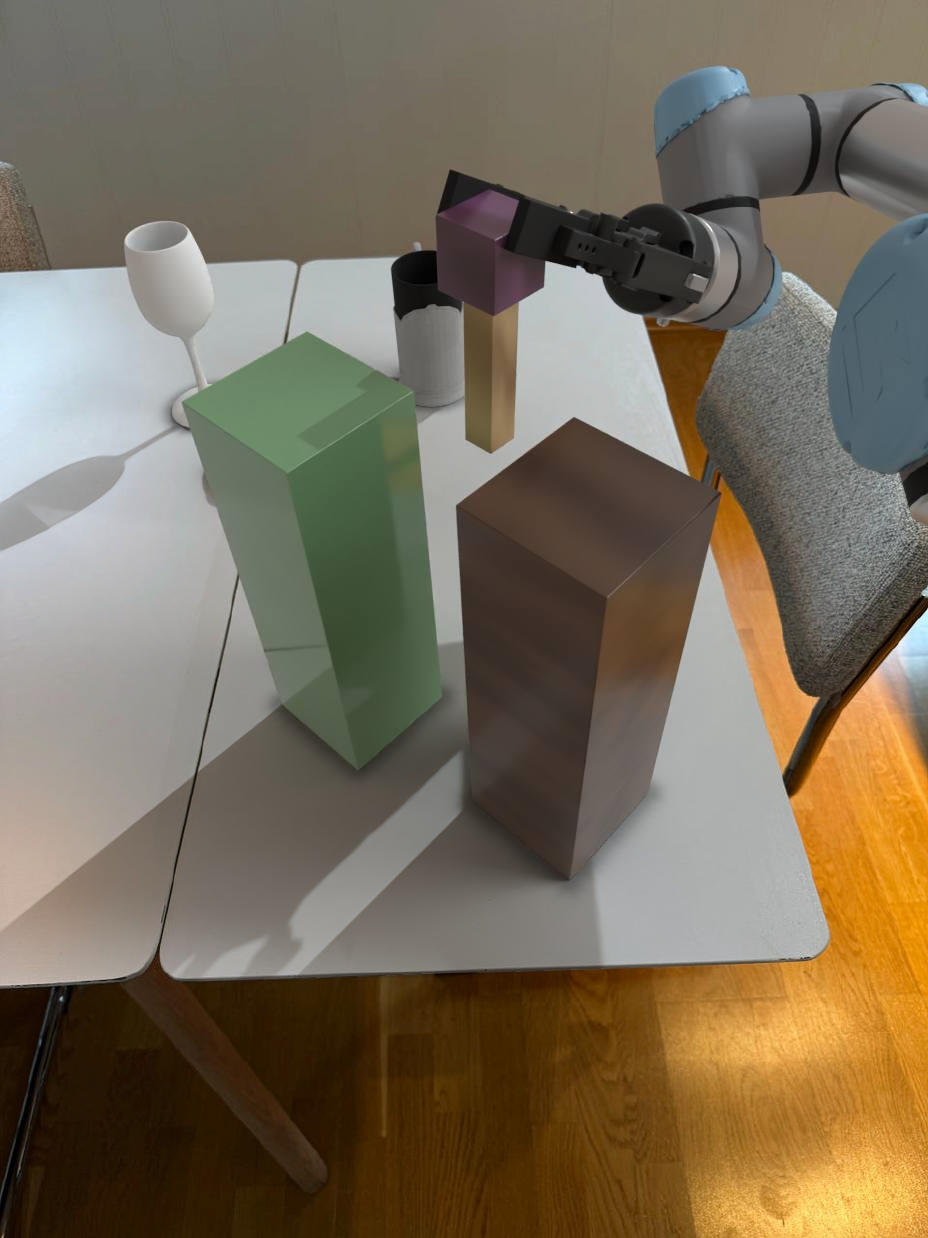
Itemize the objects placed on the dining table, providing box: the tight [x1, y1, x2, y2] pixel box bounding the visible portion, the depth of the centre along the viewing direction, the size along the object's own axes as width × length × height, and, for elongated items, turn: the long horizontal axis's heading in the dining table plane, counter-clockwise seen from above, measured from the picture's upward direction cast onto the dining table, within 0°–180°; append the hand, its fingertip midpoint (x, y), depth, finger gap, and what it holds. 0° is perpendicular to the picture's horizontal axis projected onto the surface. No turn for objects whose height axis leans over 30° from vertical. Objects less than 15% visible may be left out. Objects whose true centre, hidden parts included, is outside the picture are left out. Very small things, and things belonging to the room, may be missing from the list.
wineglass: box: [123, 220, 215, 429], centre depth 99 cm, size 9×9×21 cm
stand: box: [455, 416, 723, 881], centre depth 60 cm, size 10×10×32 cm
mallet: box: [434, 189, 547, 455], centre depth 56 cm, size 16×4×4 cm
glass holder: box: [390, 241, 465, 408], centre depth 104 cm, size 9×14×15 cm, turn 9°
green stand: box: [181, 331, 443, 771], centre depth 66 cm, size 10×10×32 cm
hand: (481, 210), depth 49 cm, fingers closed on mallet, 5 cm apart
